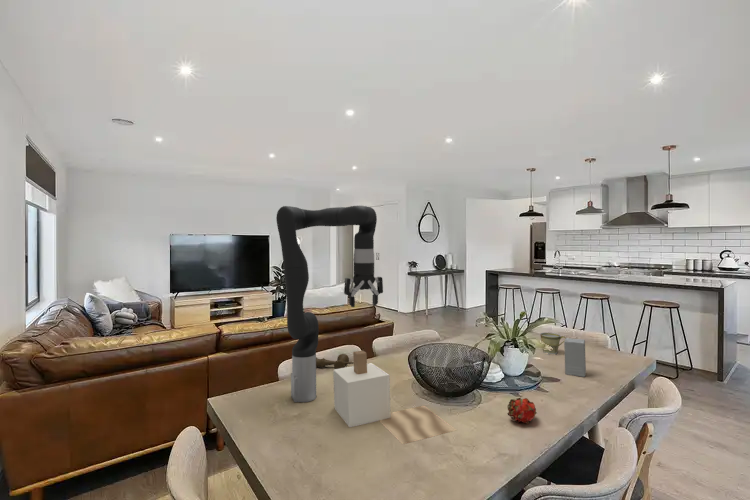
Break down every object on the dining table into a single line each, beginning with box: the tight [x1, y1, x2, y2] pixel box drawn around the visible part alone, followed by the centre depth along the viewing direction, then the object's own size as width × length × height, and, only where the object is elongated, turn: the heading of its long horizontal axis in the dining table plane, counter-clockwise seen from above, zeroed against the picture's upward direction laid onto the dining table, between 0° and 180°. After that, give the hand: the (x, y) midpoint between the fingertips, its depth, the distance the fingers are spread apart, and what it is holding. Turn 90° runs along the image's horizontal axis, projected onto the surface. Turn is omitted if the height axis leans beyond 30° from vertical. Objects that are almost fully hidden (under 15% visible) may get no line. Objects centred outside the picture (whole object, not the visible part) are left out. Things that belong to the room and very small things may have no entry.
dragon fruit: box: [507, 397, 538, 425], centre depth 129 cm, size 8×8×12 cm
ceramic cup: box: [540, 332, 567, 355], centre depth 205 cm, size 13×10×10 cm
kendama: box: [316, 353, 354, 370], centre depth 183 cm, size 6×10×20 cm
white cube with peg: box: [332, 350, 392, 428], centre depth 133 cm, size 15×15×22 cm
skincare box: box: [563, 337, 587, 378], centre depth 173 cm, size 8×7×16 cm
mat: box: [378, 405, 457, 445], centre depth 126 cm, size 20×20×1 cm
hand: (363, 306), depth 137 cm, fingers open, 8 cm apart
